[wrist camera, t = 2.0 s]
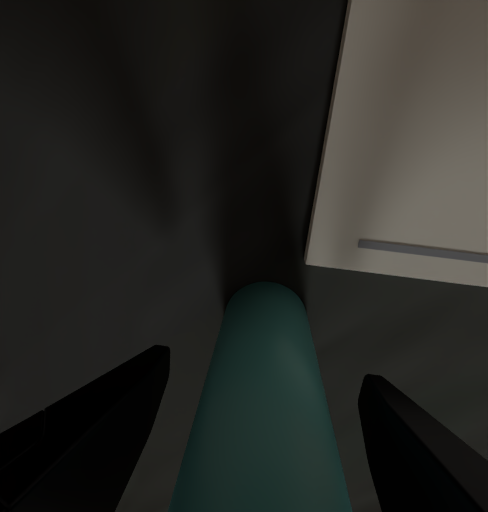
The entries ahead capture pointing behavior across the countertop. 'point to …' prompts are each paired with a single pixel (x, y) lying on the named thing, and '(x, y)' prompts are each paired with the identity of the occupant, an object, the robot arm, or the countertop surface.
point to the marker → (262, 416)
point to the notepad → (407, 144)
